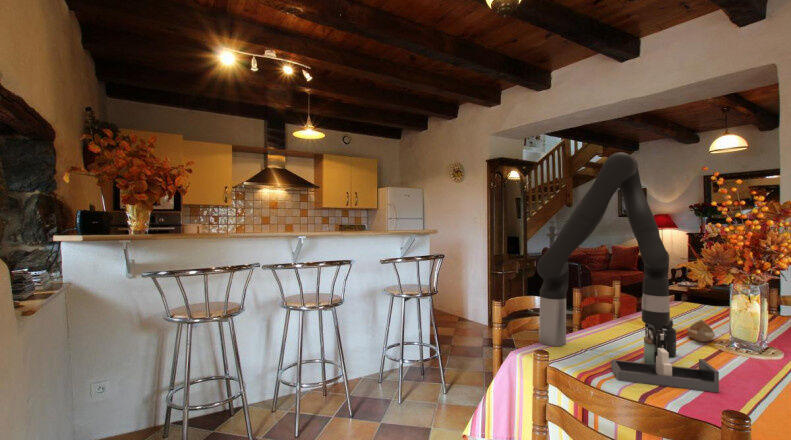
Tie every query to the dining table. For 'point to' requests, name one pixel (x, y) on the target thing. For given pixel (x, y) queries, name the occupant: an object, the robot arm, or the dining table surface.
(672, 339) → the supplement bottle
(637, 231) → the robot arm
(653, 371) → the tray
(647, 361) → the jar
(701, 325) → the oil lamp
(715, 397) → the dining table surface
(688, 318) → the dining table surface
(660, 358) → the block
